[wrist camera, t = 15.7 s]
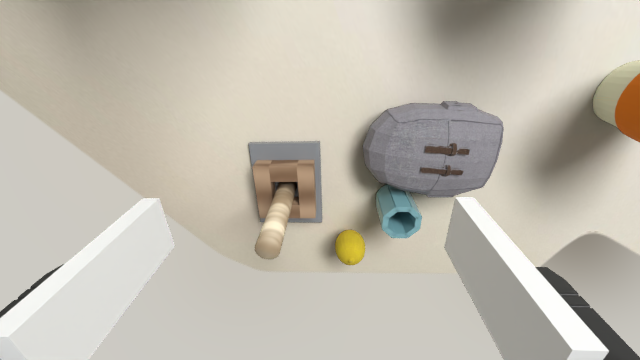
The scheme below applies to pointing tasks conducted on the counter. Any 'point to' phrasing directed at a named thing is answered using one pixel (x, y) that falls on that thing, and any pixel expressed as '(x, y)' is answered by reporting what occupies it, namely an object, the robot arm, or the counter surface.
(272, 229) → the dowel
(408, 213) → the cup
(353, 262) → the lemon
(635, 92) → the reusable coffee cup
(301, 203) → the frame
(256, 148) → the tray
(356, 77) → the counter surface
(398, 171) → the grey rounded bag
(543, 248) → the counter surface
